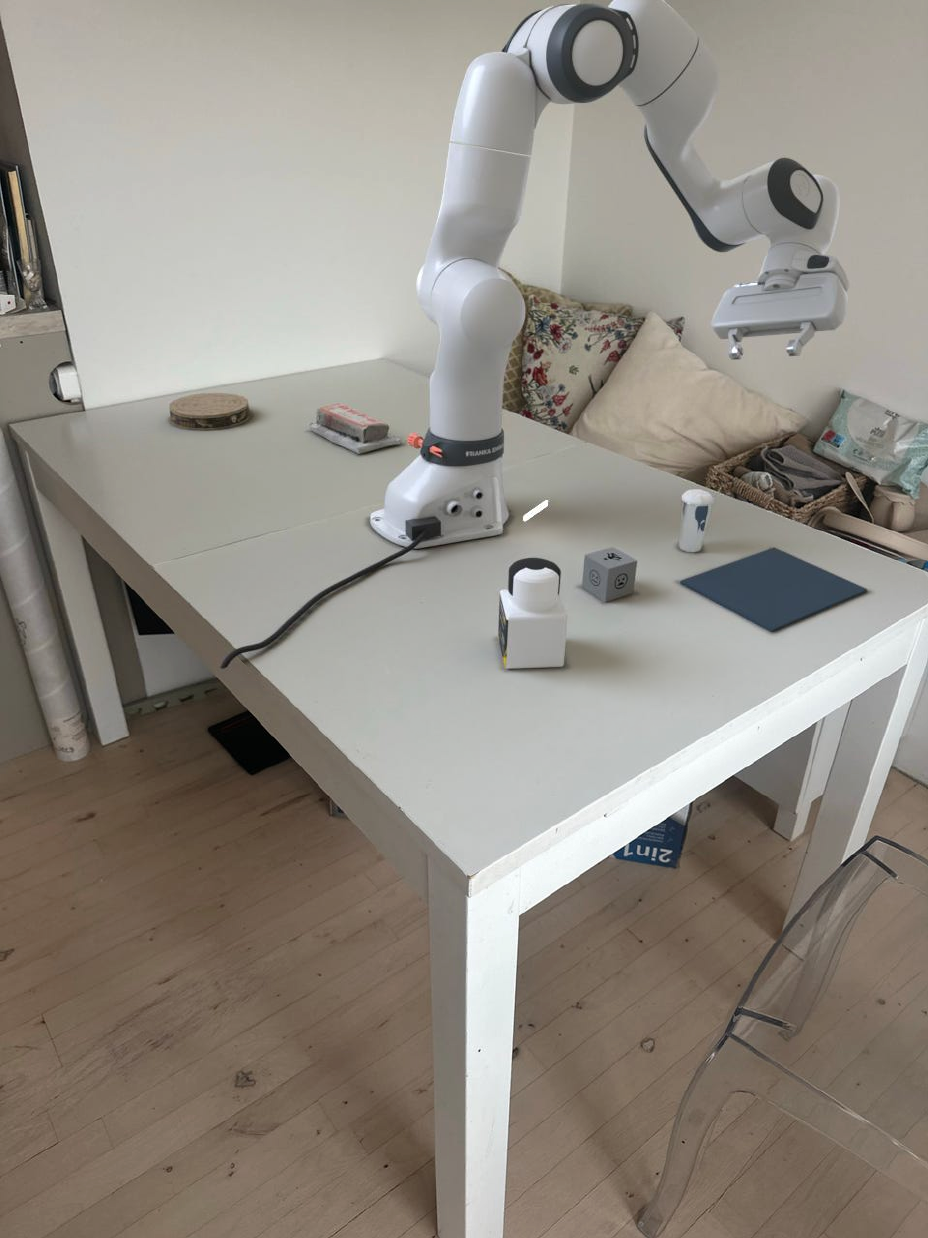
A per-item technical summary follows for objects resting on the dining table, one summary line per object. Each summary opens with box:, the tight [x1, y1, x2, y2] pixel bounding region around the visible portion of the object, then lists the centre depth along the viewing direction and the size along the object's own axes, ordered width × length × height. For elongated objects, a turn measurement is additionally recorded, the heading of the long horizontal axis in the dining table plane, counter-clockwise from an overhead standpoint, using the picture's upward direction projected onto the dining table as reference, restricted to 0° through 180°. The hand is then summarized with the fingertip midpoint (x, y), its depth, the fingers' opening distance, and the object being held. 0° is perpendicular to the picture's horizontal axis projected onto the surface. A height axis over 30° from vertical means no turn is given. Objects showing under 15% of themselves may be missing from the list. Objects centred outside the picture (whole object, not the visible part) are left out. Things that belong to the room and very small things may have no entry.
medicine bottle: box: [497, 557, 569, 670], centre depth 108 cm, size 7×7×12 cm
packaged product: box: [309, 403, 401, 455], centre depth 178 cm, size 18×5×10 cm
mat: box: [679, 547, 868, 633], centre depth 127 cm, size 20×16×1 cm
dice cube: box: [581, 546, 638, 603], centre depth 124 cm, size 5×5×5 cm
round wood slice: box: [168, 392, 251, 431], centre depth 188 cm, size 16×16×3 cm
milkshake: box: [678, 487, 722, 553], centre depth 135 cm, size 4×5×10 cm
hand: (762, 355), depth 138 cm, fingers open, 8 cm apart
